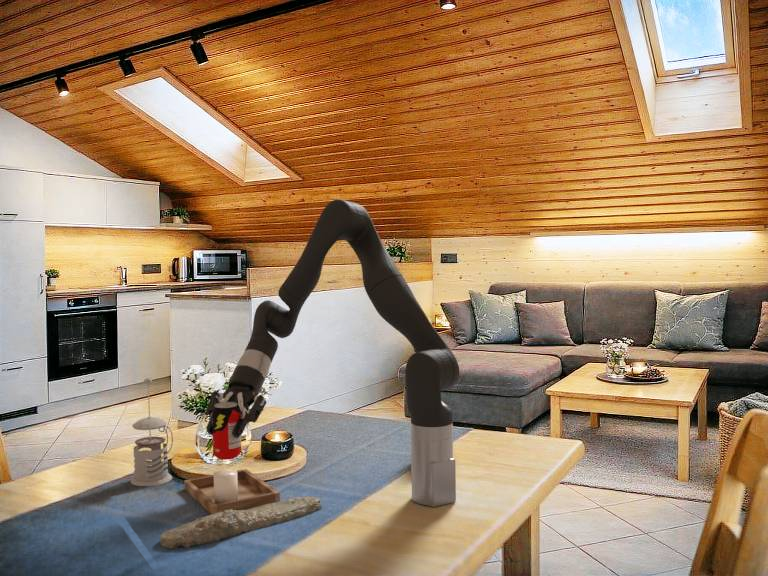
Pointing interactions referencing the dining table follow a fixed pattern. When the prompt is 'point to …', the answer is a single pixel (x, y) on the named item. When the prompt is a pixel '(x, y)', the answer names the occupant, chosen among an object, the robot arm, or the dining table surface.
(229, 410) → the beverage can
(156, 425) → the french press
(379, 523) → the dining table surface
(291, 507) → the long grey stone
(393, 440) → the dining table surface
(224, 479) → the frosted white cylinder
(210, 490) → the tray
